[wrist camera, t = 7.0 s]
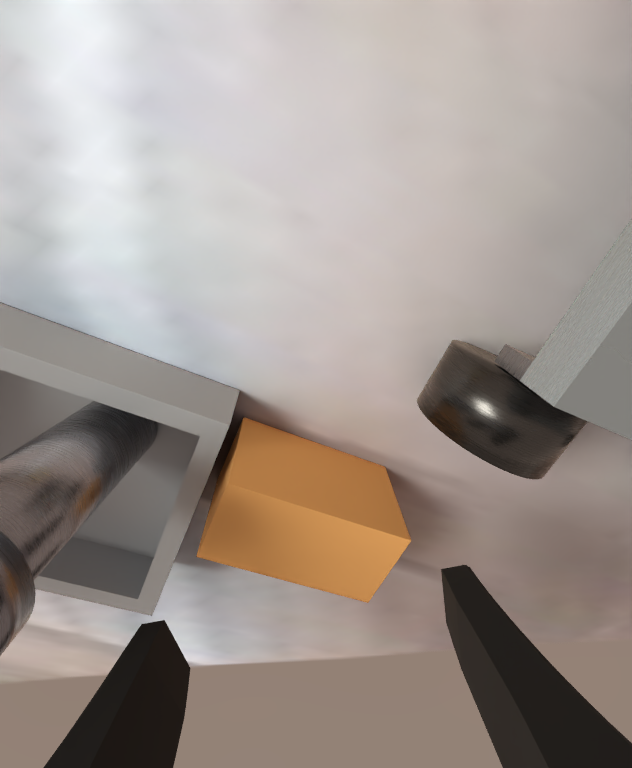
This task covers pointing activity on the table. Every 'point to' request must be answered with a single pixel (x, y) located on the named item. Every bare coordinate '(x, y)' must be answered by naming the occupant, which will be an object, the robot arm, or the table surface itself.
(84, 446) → the pin
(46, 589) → the tray
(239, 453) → the block
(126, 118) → the table surface
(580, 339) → the toy wheeled cart
